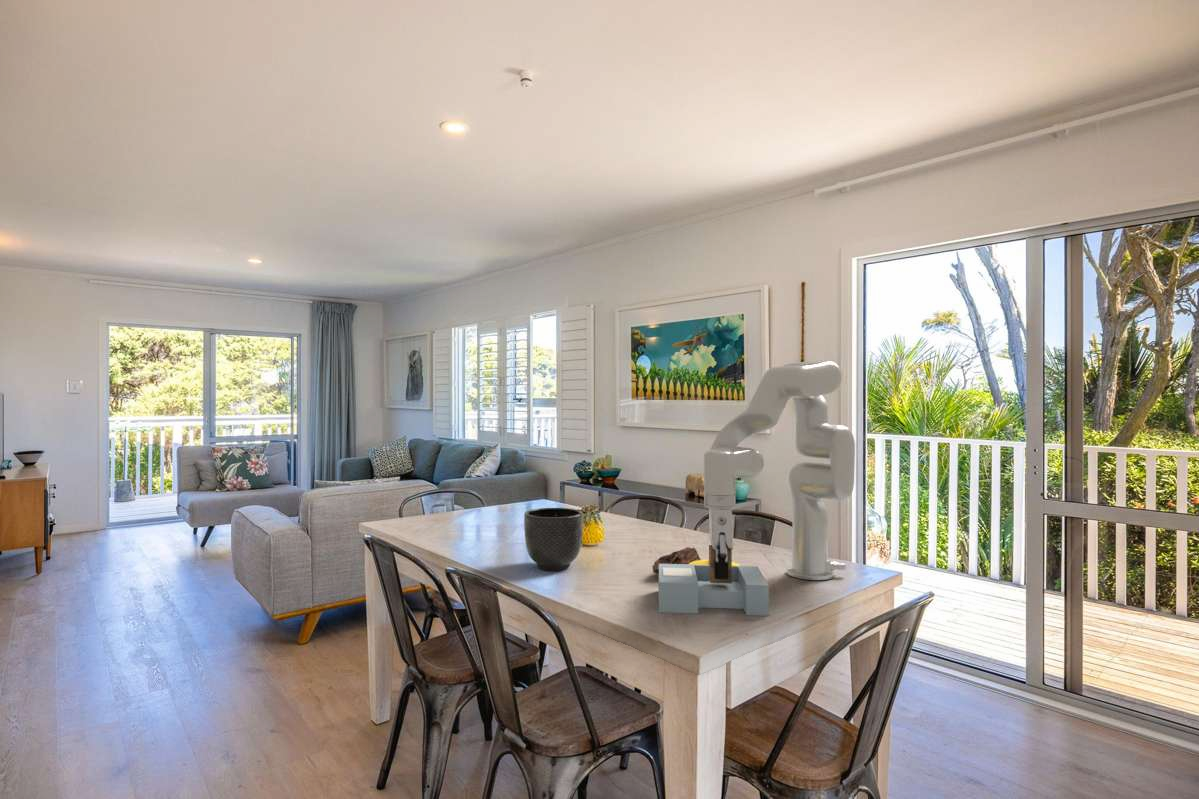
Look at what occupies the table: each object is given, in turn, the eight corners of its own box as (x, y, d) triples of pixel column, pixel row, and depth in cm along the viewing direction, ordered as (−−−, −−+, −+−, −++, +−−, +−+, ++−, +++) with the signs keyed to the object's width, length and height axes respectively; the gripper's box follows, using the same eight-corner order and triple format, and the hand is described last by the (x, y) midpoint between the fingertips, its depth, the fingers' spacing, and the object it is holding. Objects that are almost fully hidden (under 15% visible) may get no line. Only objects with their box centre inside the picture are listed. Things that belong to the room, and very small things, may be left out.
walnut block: (729, 577, 164) (729, 545, 164) (731, 583, 159) (731, 550, 159) (709, 577, 164) (708, 545, 164) (710, 583, 159) (710, 550, 159)
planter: (594, 568, 193) (595, 513, 192) (545, 578, 182) (545, 520, 182) (560, 557, 206) (560, 505, 206) (512, 565, 195) (512, 511, 195)
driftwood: (678, 584, 177) (679, 554, 177) (650, 581, 180) (650, 551, 180) (701, 565, 198) (702, 538, 198) (675, 562, 201) (676, 535, 201)
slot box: (757, 593, 169) (757, 565, 169) (768, 615, 152) (768, 584, 152) (658, 590, 171) (658, 562, 171) (659, 612, 154) (659, 580, 154)
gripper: (739, 507, 152) (740, 586, 153) (731, 495, 169) (731, 566, 170) (706, 507, 153) (707, 585, 153) (701, 495, 170) (702, 565, 170)
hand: (720, 574), depth 162 cm, fingers closed on walnut block, 5 cm apart
